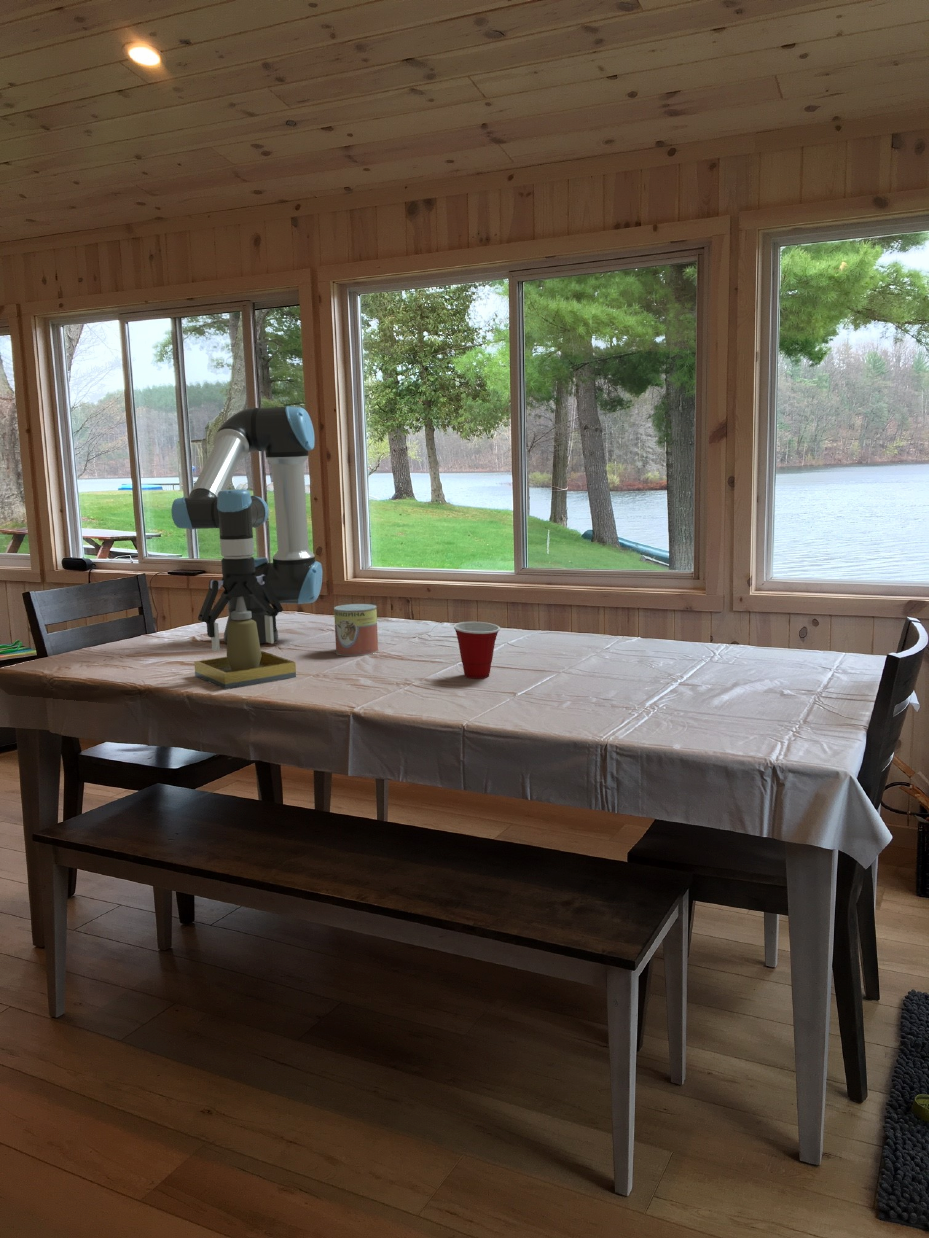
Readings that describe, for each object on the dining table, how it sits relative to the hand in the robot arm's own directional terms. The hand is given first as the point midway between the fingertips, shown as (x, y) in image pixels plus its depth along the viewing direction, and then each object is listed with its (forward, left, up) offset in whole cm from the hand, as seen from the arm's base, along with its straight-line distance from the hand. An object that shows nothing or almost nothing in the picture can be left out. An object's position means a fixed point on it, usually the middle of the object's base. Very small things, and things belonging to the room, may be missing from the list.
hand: (243, 646), depth 219 cm
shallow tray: (0, 0, -7) cm, 7 cm away
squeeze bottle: (0, 0, -6) cm, 6 cm away
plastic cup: (-41, +37, -8) cm, 56 cm away
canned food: (-35, -7, -8) cm, 36 cm away
